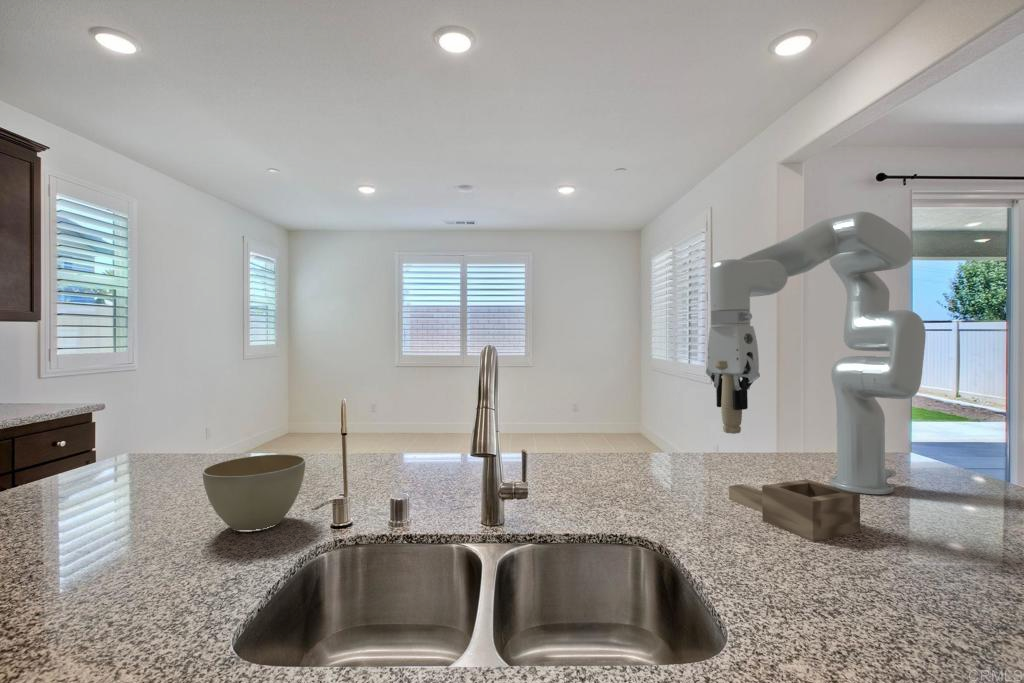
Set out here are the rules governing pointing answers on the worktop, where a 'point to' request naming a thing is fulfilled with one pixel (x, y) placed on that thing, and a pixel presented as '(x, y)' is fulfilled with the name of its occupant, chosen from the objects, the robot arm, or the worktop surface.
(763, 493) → the wooden box scoop
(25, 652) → the worktop surface
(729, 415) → the handle
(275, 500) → the olive grey bowl
